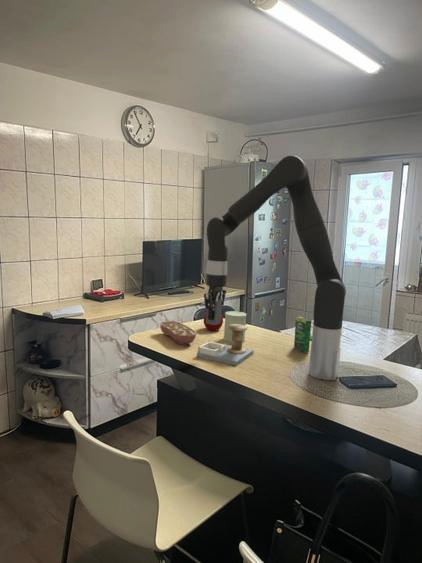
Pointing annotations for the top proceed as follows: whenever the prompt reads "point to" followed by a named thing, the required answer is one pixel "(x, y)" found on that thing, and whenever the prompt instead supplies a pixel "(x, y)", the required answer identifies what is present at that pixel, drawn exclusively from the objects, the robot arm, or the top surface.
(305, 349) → the coffee box
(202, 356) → the board
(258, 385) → the top surface
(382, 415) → the top surface
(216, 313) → the gray rectangular block
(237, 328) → the bobbin
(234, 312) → the can
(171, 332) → the bread loaf
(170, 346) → the top surface
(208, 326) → the apple
